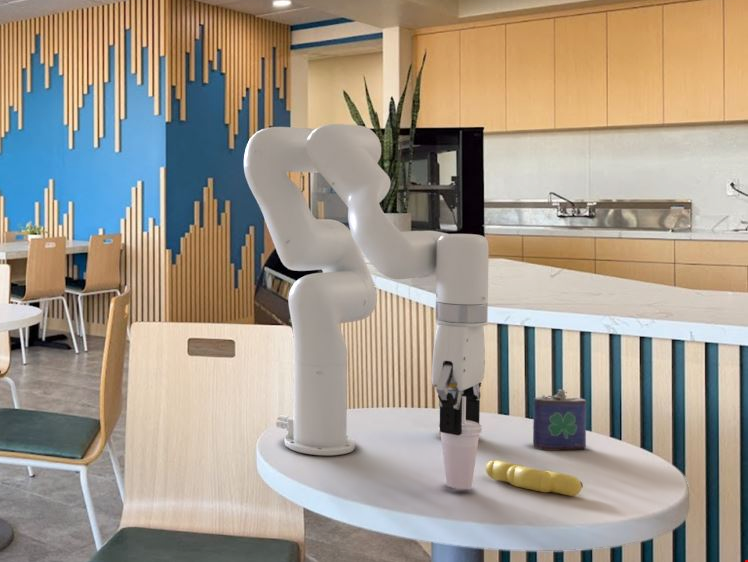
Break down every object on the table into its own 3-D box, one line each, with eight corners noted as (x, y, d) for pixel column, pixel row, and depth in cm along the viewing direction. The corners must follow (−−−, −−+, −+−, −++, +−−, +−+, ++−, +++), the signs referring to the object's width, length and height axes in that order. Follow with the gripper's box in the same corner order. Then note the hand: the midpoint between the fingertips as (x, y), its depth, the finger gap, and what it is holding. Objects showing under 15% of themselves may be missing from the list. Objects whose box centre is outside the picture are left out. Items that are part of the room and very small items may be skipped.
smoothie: (476, 495, 131) (478, 403, 130) (432, 487, 134) (434, 397, 133) (484, 482, 136) (486, 394, 135) (442, 475, 139) (443, 389, 139)
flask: (581, 445, 158) (583, 387, 158) (589, 450, 155) (590, 391, 155) (530, 445, 158) (531, 387, 158) (537, 450, 156) (538, 391, 155)
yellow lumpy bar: (480, 481, 139) (480, 461, 139) (489, 474, 142) (490, 455, 142) (576, 502, 130) (577, 481, 129) (584, 495, 133) (584, 474, 133)
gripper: (459, 306, 143) (457, 413, 144) (414, 317, 130) (412, 435, 131) (505, 310, 138) (504, 421, 138) (464, 322, 125) (462, 445, 126)
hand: (459, 427), depth 135 cm, fingers closed on smoothie, 6 cm apart
